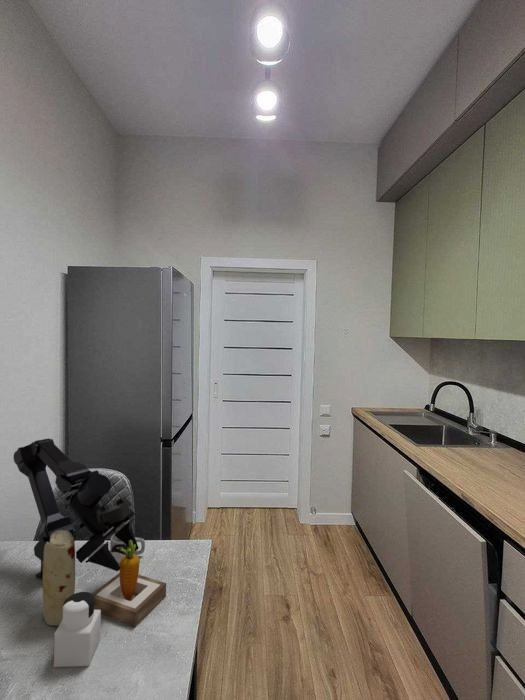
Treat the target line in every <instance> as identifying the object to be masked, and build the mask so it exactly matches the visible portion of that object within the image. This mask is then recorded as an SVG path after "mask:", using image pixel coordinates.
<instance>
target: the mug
mask: <svg viewBox="0 0 525 700" xmlns="http://www.w3.org/2000/svg"><path fill="white" fill-rule="evenodd" d="M115 534H116V533H114V534H112V535H111V536H110V542H109V543H110V544H109V545H110V546H109V551H110V552H111V554H112V555H113V557H114V558H115V559H116V561H117V562H118V564H119V566H120V562H121V558H122V557H124V556H126V554H125V553H124V552H122V551H120V549H125V550H126V551H127V548H128V547H129V546H127V545H126V544H125V543H123V542H122V541H121V540H119V539H118V538H117V537H116V536H114V535H115ZM135 539H136V542H137V543H140V544H141V549H140V550H137V551H134V553H133V554H135V555H136V556H139V555H141V554H143V553H144V552H145V547H146V541H145V539H144V538H142V537H136V536H135Z"/></svg>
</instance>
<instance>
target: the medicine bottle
mask: <svg viewBox="0 0 525 700" xmlns="http://www.w3.org/2000/svg"><path fill="white" fill-rule="evenodd" d="M92 594H93V593H91V592H88V591H79V592H74V594H73V595H71V596H69V597H68V598H67V599H66V600H65V602H64V603H63V620H62V622H61V623H60V625H59V626H57V629H56V630H55V632H54V634H53V667H54V668H70V667H71V668H73V667H77V668H78V667H90V665H91V662H92V661H93V658H94V656H95V653H96V650H97V649H98V646H99V644H100V641H101V625H102V623H101V620H102V619H101V617H102V615H101V610H94V596H93V595H92Z"/></svg>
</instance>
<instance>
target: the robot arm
mask: <svg viewBox="0 0 525 700" xmlns="http://www.w3.org/2000/svg"><path fill="white" fill-rule="evenodd" d="M13 462H14V464H16V467H17V468H18V471H19V472H20V473H21V474H23V475H24V476H26V477H27V479H28V481H29V484H30V488H31V492H32V494H33V499H34V501H35V504H36V507H37V511H38V514H39V517H40V521H41V527H40V530H39V534H38V539H39V540H38V541H37V543H35V545H34V547H33V553H34V556H35V557H36V558H37V559H39V560H40V571H39V572H37V573H36V574H35V578H37V579H41V580H43V560H44V546H45V544H46V542H50V538H51V535H52V534H53V533H54V532H55V531H58V530H65V531H69V532H70V533H71V534H72V535H73V537H74V542H75V543H76V537H77V533H76V529H75V527H74V526H73V523H72V520H71V518H70V517H69V516H67V515H66V516H64V515H63V514H61V511H60V508H59V505H58V503H57V500H56V496H55V493H54V490H53V488H52V485H51V481H50V478H49V475H48V472H47V469H46V468H47V467H48V468H49V470H50V471H51V472H52V473H53V474H54V476H55V485H56V487H57V489H58V490H59V491H60V492H61V493H63V494H67V493H71V492H73V491H75V492H74V493H71V494H69V495H68V496H66V497H65V498H64V501H65V502H64V509H65V510H67V509H68V508H70V510H71V511H72V513H73V514H74V515H75V516H76V517H77V519H78V520H79V521H80V522H81V524H79V525H78V526H79V528H80V529H82V530H83V529H84V528H85V529H86V530H87V531H88V533H90V535H91V537H89V540H87V541H86V542H85V543H84V544H83V545H82V546H81V547H79V549H78V550H76V551H75V559H77V560H78V562H79V563H80V564H82V563H86V564H88V563H92V564H96V565H99V566H101V567H105V568H107V569H110V570H112V571H114V572H120V569H121V568H120V565H119V564H118V562H117V561H116V559H115V558H114V557H113V555H112V554H111V552H110V547H109V541H108V540H107V541H105V540H106V539H107V538H108V537H109V536H110V535H111V534H112V533H114V534H115V535H114V534H113V535H114V536H116V537H117V538H118V539H119V540H121V541H122V542H123V543H125V544H126V545H127V546H129V541H130V540H132V542H133V545H134V544H135V545H136V548H135V551H139V545H138V542H136V539H135V537H136V536H135V533H134V531H133V530H134V529H133V521H134V520H135V518H134V516H135V513H134V511H133V510H132V509H131V506H132V503H131V502H130V500H129V499H128V498H127V497H126V496H122V497H120V498H118V499H117V500H116V504H114V505H113V506H111V507H110V506H109V505H108V504H105V503H104V504H103V505H101V503H100V501H101V500H103V499H104V498H105V496H106V495H107V494H109V492H111V491H110V490H111V488H112V482H111V480H110V479H109V478H108V477H107V476H106V475H104V474H101V473H99V471H98V470H97V469H96V470H93V471H91V470H90V469H89V468H88V467H87V466H86V465H85V464H83V463H81V462H78V461H72V460H71V459H70V458H69V457H68V456H67V455H66V454H65V453H64V452H63V451H62V450H61V449H60V448H59V447H58V446H57V445H56V444H55V442H54V439H53V438H43V439H38V440H35V441H32V442H31V443H30V444H27V445H25V446H21V447H18V448H17V450H16V451H14V453H13ZM86 559H87V560H86ZM84 561H85V562H84Z"/></svg>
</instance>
